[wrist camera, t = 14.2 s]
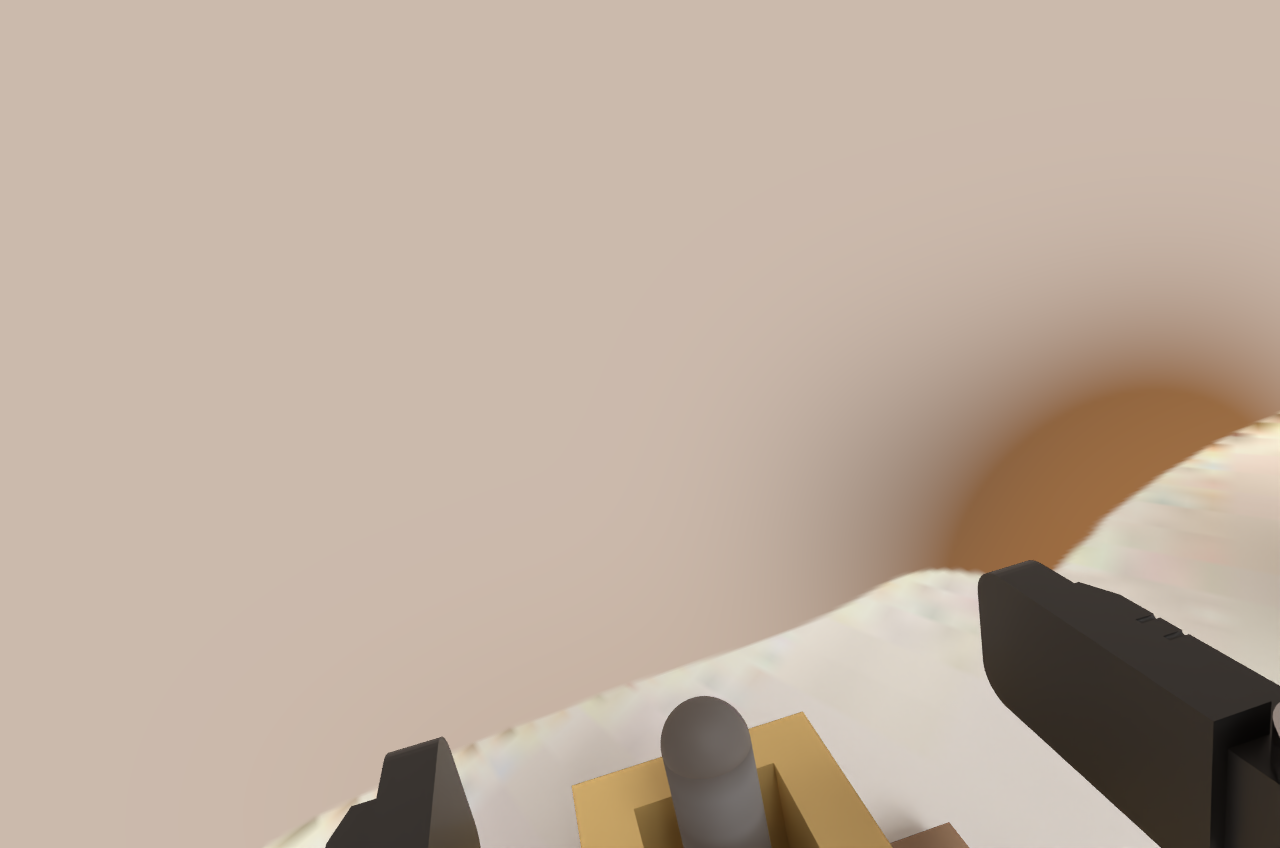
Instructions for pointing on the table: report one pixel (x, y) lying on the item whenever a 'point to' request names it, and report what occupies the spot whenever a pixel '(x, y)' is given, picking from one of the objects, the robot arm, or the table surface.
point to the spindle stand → (731, 781)
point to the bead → (790, 787)
